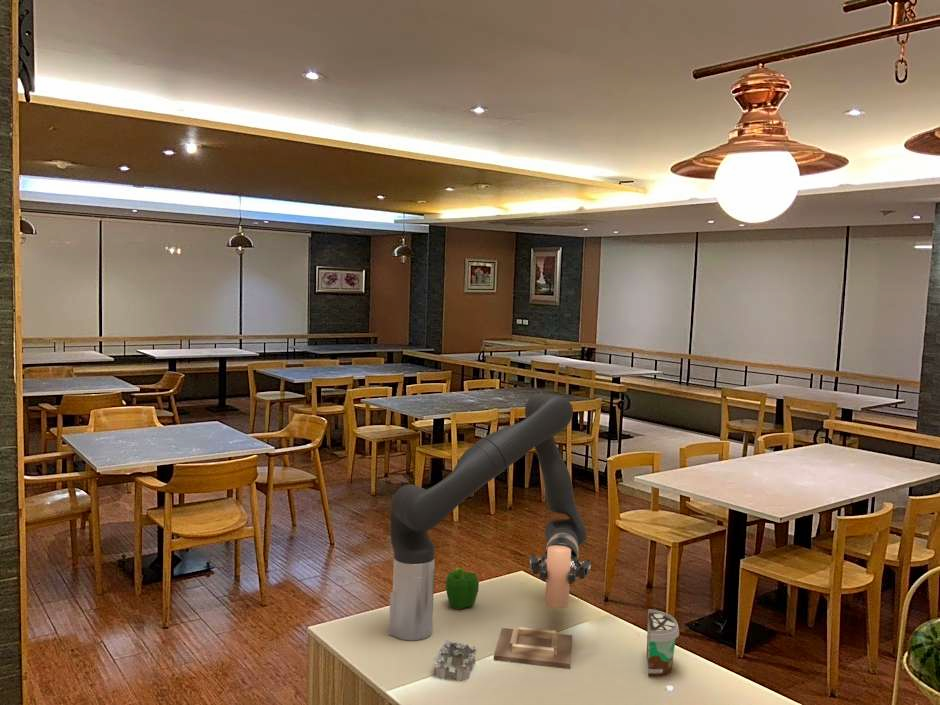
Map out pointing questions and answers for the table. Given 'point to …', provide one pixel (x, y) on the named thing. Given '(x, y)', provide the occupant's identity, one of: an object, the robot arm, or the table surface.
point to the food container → (660, 643)
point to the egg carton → (455, 660)
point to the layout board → (534, 647)
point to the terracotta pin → (557, 577)
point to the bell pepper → (461, 588)
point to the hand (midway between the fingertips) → (557, 577)
